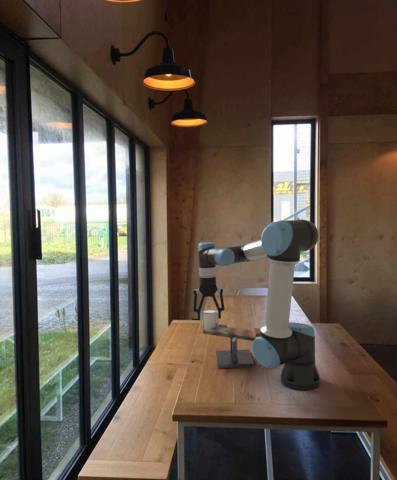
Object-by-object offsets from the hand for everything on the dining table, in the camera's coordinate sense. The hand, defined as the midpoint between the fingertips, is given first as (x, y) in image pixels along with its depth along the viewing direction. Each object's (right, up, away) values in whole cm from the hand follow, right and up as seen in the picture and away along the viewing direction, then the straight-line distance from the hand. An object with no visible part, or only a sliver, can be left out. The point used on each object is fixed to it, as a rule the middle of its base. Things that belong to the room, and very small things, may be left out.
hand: (209, 325), depth 180 cm
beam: (+11, -5, 0) cm, 12 cm away
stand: (+11, -16, +1) cm, 20 cm away
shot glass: (0, -1, 0) cm, 1 cm away
